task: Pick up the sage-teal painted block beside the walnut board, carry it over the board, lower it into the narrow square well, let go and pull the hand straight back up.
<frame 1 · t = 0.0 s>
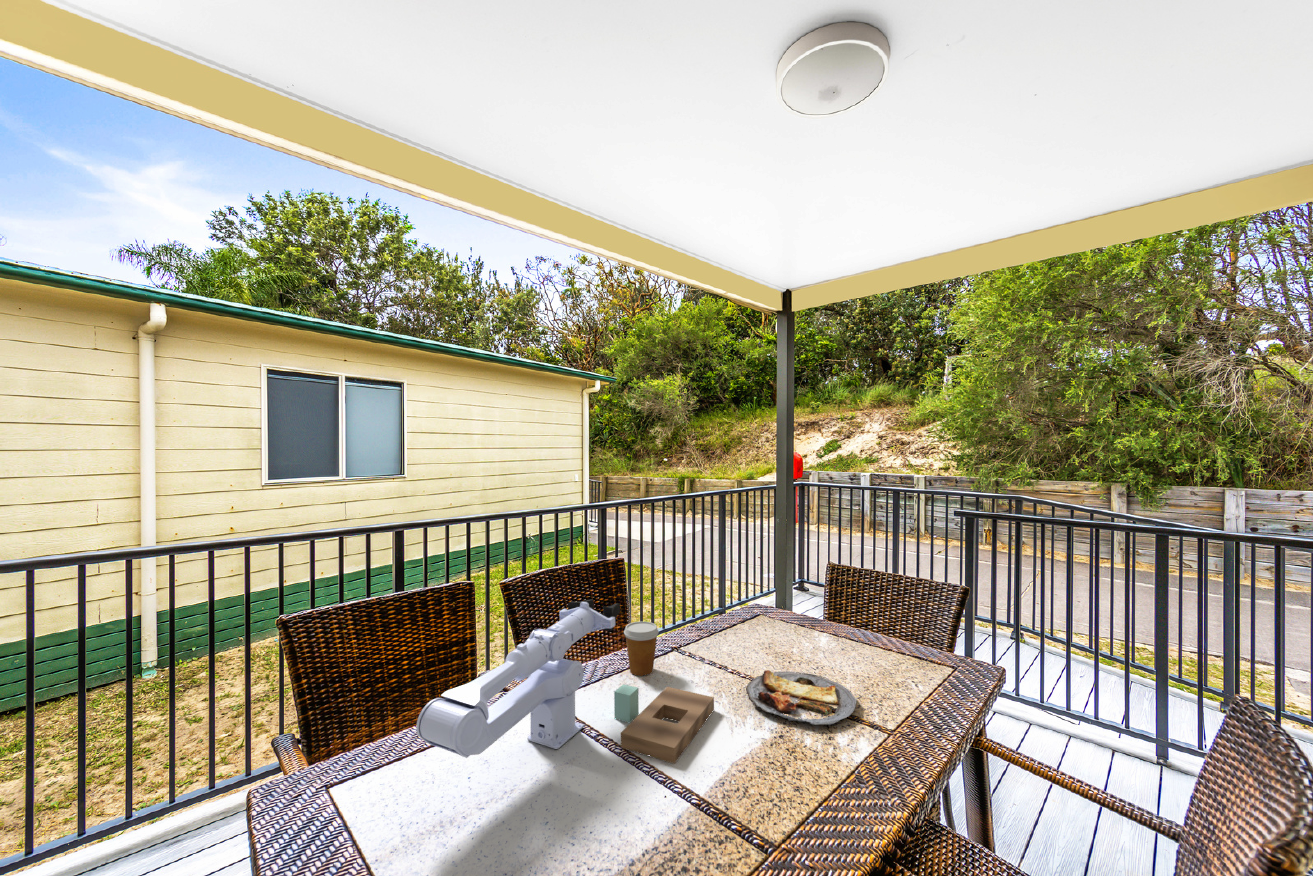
hand: (605, 605, 125), 22 cm above the table, tool horizontal, fingers open, 7 cm apart
well board: (670, 727, 109), on the table
disposable coffee cup: (641, 671, 137), on the table
teal block: (626, 716, 114), on the table
food plate: (799, 703, 120), on the table
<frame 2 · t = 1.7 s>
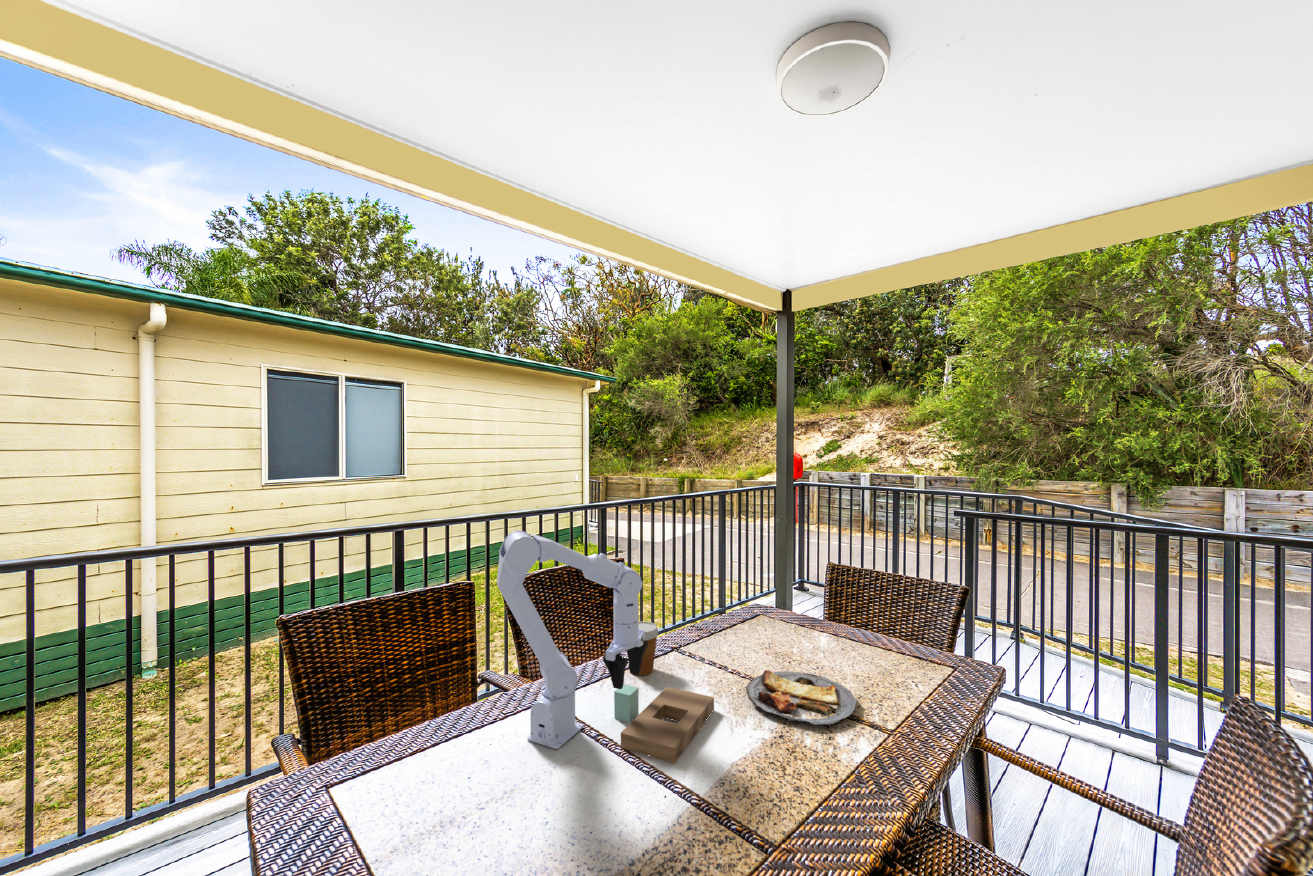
hand: (626, 680, 114), 8 cm above the table, tool pointing down, fingers open, 7 cm apart
nothing on the table moved.
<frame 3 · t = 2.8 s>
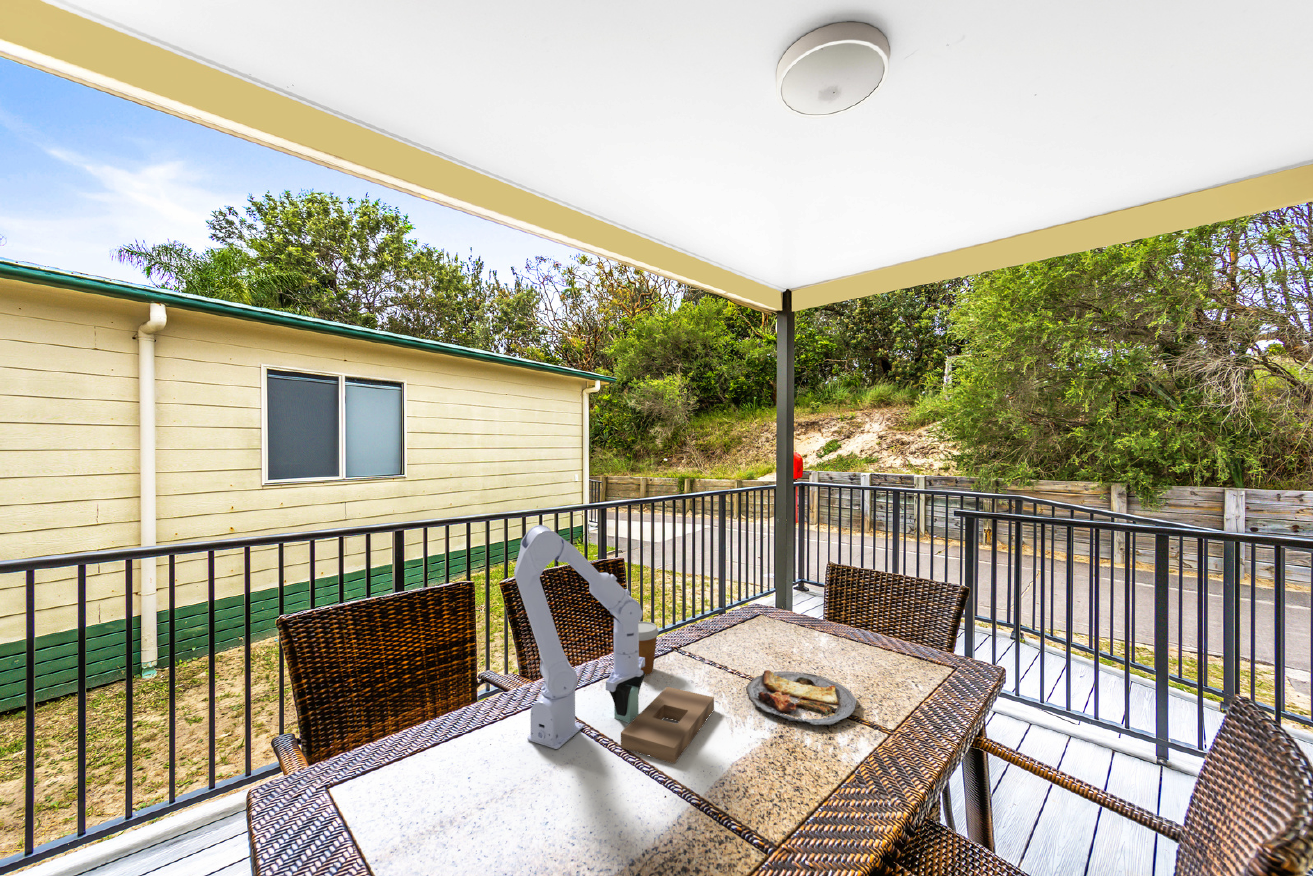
hand: (626, 709, 114), 1 cm above the table, tool pointing down, fingers closed on teal block, 4 cm apart
teal block: (626, 716, 114), on the table, touching gripper
everything else where it was.
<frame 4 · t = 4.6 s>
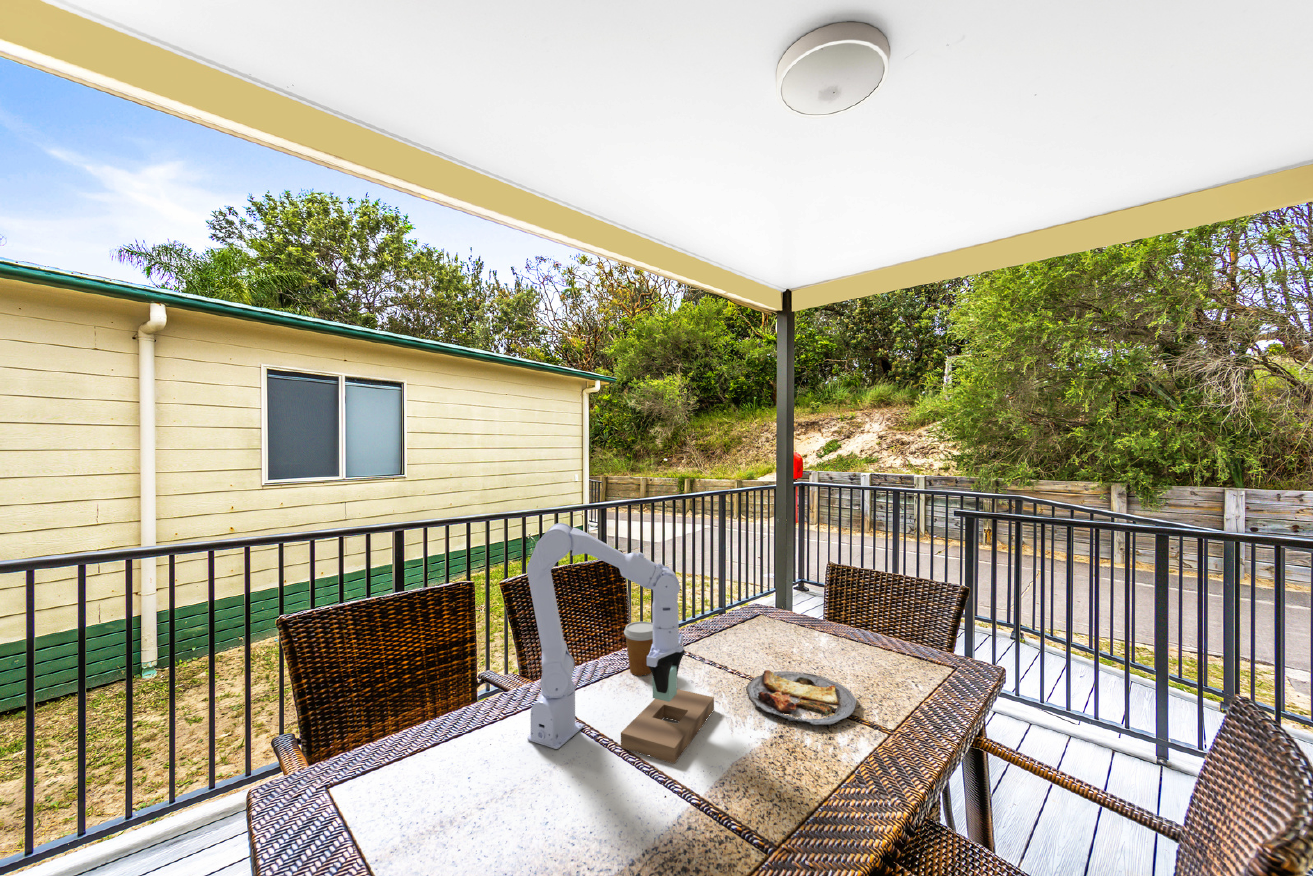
hand: (666, 687, 110), 8 cm above the table, tool pointing down, fingers closed on teal block, 4 cm apart
teal block: (664, 695, 110), point 7 cm above the table, touching gripper
everything else where it was.
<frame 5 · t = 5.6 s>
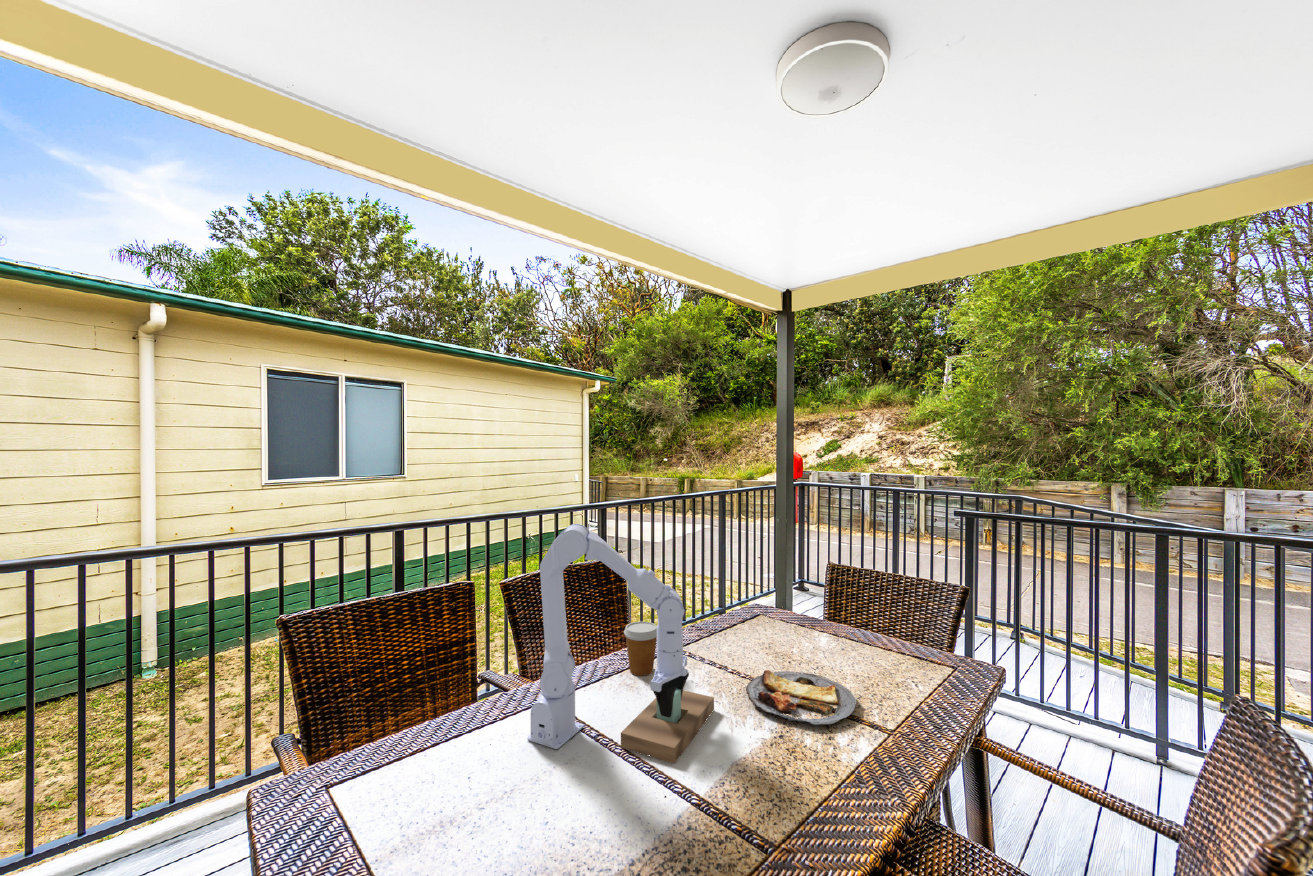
hand: (670, 710, 109), 4 cm above the table, tool pointing down, fingers closed on teal block, 4 cm apart
teal block: (669, 719, 109), point 2 cm above the table, touching gripper
everything else where it was.
when the fingers open (3 cm above the table, at t = 6.5 s): teal block drops 2 cm, resting in well board.
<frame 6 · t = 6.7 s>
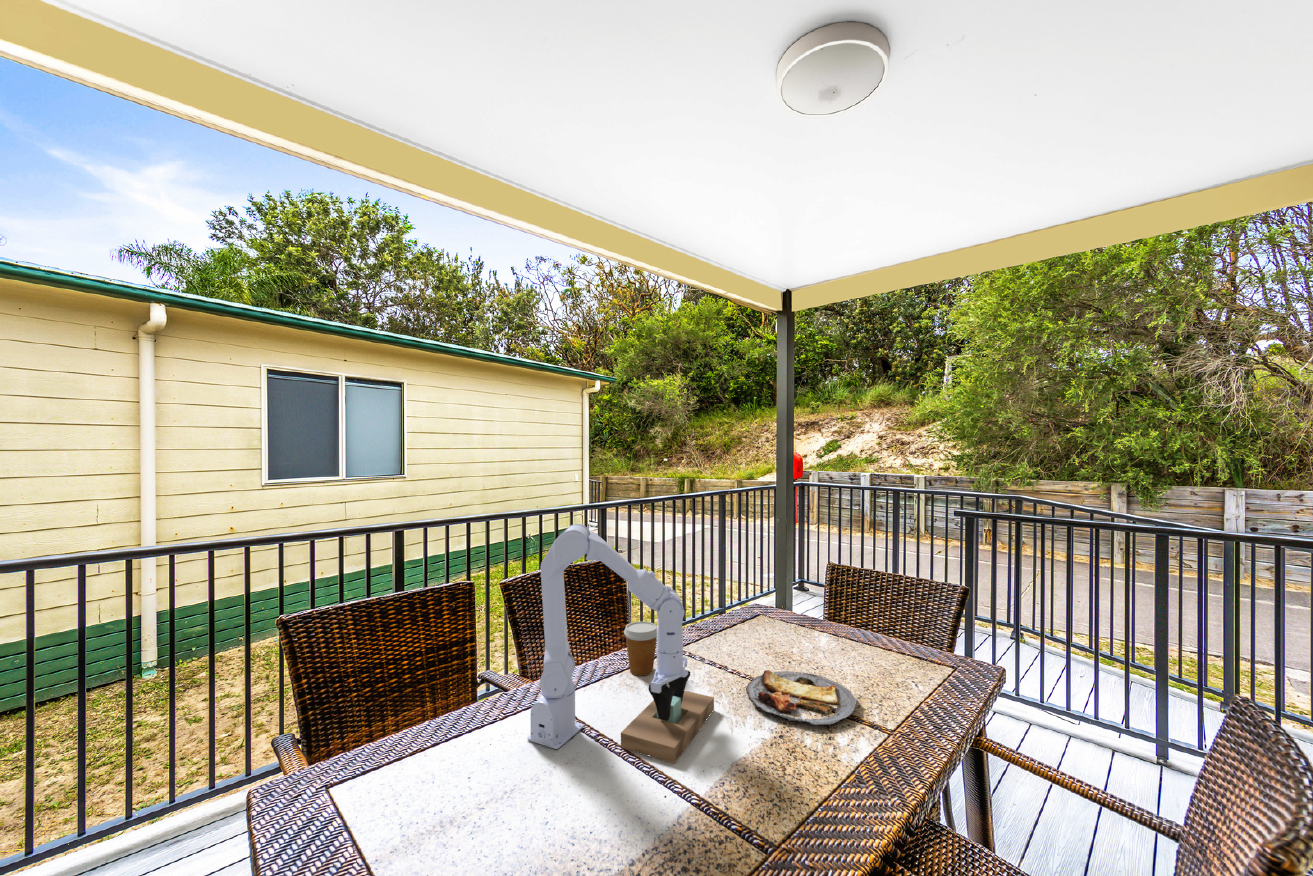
hand: (670, 712, 109), 3 cm above the table, tool pointing down, fingers open, 6 cm apart
teal block: (669, 727, 109), resting in well board
everything else where it was.
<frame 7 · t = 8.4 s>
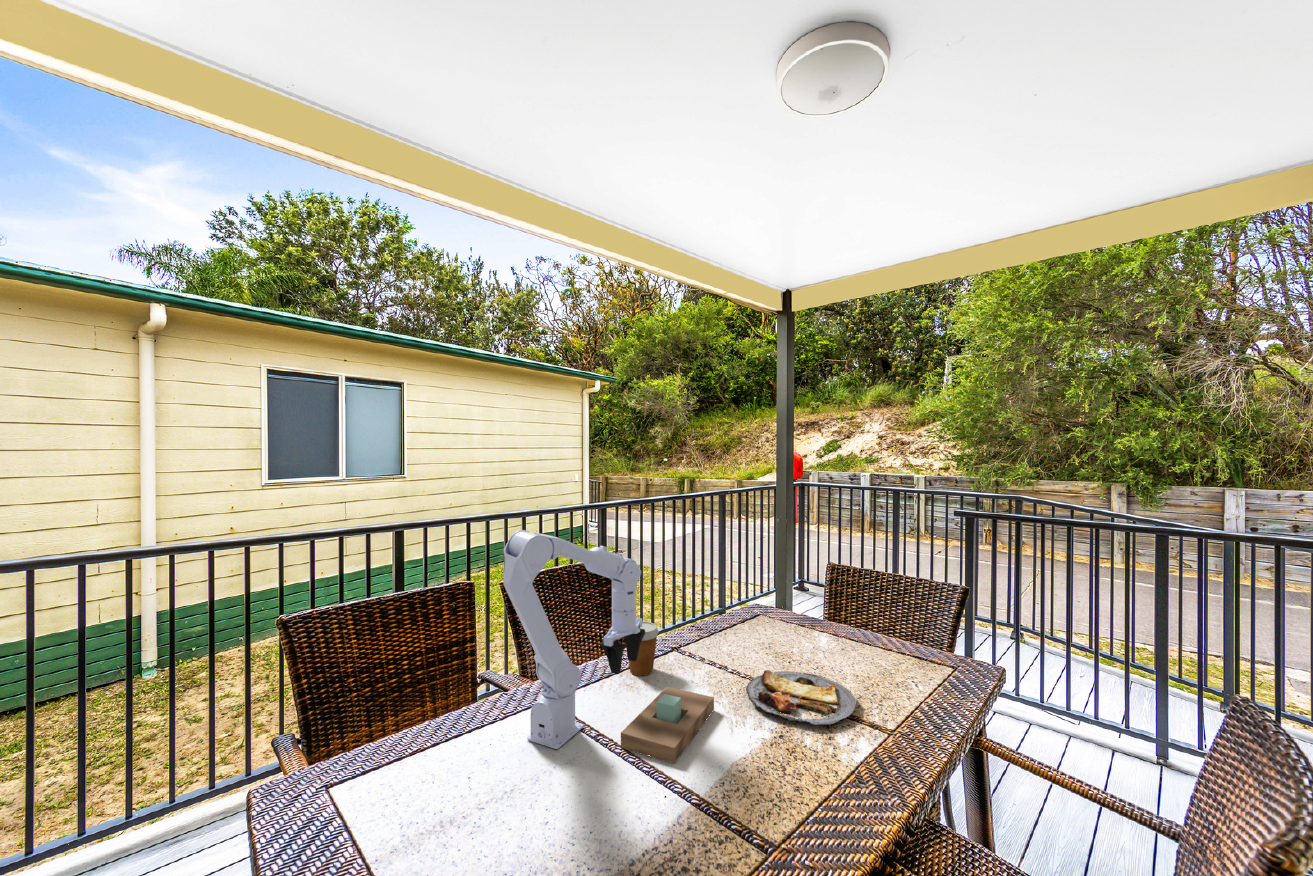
hand: (624, 666, 118), 9 cm above the table, tool pointing down, fingers open, 7 cm apart
nothing on the table moved.
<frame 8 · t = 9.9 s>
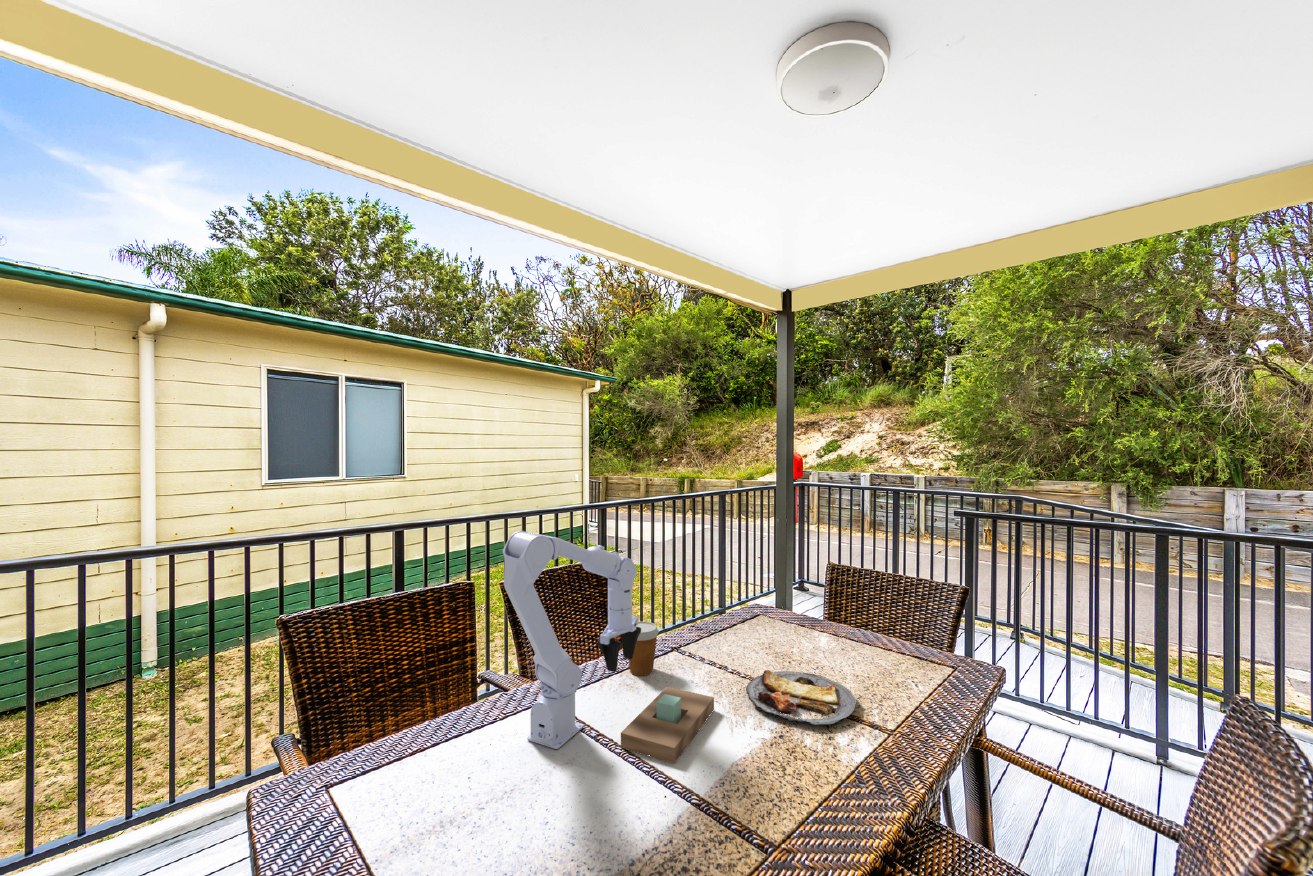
hand: (620, 664, 119), 9 cm above the table, tool pointing down, fingers open, 7 cm apart
nothing on the table moved.
at the end: teal block 0.3 cm off-centre on the well board, point 0.0 cm above the well board's base; teal block tilted 0°; the gripper is holding nothing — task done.
